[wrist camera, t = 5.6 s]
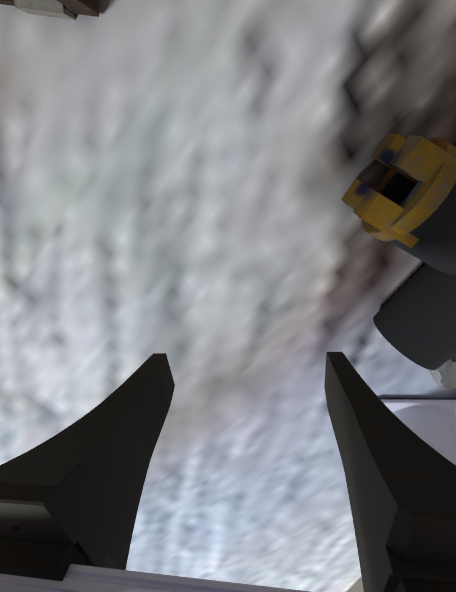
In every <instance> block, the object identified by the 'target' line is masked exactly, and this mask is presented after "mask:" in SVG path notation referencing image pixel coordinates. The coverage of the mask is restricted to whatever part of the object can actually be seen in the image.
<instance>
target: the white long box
mask: <svg viewBox="0 0 456 592" xmlns="http://www.w3.org/2000/svg"><path fill="white" fill-rule="evenodd" d="M428 371H429V372H430V374H431V375H432V377H433V379H434V380H435V382H436V383H437V385H438V386H439V387H444V388H456V355H455V356H453V357H452V358H451V359H450V360H448V361H447V362H446V363H444V364H443V365H442V366H441V367H439V368H438V369H436V370H429V369H428Z"/></svg>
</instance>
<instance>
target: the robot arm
mask: <svg viewBox="0 0 456 592" xmlns="http://www.w3.org/2000/svg"><path fill="white" fill-rule="evenodd" d="M174 387H175V384H174V381H173V377H172V374H171V370H170V366H169V363H168V359H167V356H166V353H162V354H153V355H152V356H150V357H149V358H148V359H147V360H146V361H145V362H144V363H143V364H142V365H141V366H140V367H139V368H138V369H137V370H136V371H135V372H134V373H133V374H132V375H131V376H130V377H129V378H128V379H127V380H126V381H125V382H124V383H123V384H122V385H121V386H120V387H119V388H117V389H116V390H115V391H114V392H113V393H112V394H111V395H110V396H108V397H107V398H106V399H105V400H104V401H103V402H101V403H100V404H99V405H98V406H97V407H95V408H94V409H93V410H91V411H90V412H89V413H87V414H86V415H85V416H83V417H82V418H81V419H79V420H78V421H76V422H75V423H73V424H72V425H70V426H69V427H67V428H66V429H64V430H63V431H61V432H60V433H58V434H57V435H55V436H54V437H52V438H50V439H49V440H47V441H45V442H44V443H42V444H40V445H38V446H37V447H35V448H33V449H31V450H29V451H28V452H26V453H24V454H22V455H20V456H18V457H16V458H14V459H12V460H10V461H8V462H6V463H4V464H2V465H0V592H309V591H300V590H292V589H283V588H274V587H266V586H257V585H248V584H240V583H231V582H223V581H214V580H205V579H197V578H188V577H179V576H171V575H162V574H153V573H145V572H136V571H127V570H125V569H126V564H127V559H128V554H129V548H130V543H131V538H132V533H133V529H134V524H135V519H136V515H137V510H138V506H139V502H140V498H141V494H142V489H143V485H144V482H145V478H146V474H147V470H148V467H149V463H150V460H151V457H152V454H153V451H154V448H155V445H156V443H157V440H158V437H159V435H160V432H161V429H162V427H163V424H164V421H165V419H166V416H167V413H168V410H169V407H170V404H171V400H172V396H173V391H174ZM325 393H326V400H327V406H328V411H329V415H330V419H331V422H332V426H333V430H334V433H335V437H336V440H337V444H338V448H339V451H340V455H341V459H342V463H343V467H344V471H345V476H346V482H347V488H348V493H349V499H350V505H351V511H352V517H353V523H354V529H355V535H356V541H357V548H358V554H359V561H360V568H361V574H362V581H363V588H364V592H456V400H384V399H379V398H378V397H377V395H376V394H375V393H374V392H373V391H372V390H371V389H370V387H369V386H368V385H367V384H366V383H365V381H364V380H363V379H362V378H361V377H360V375H359V374H358V373H357V371H356V370H355V369H354V367H353V366H352V365H351V363H350V362H349V361H348V359H347V358H346V356H345V355H344V354H343V353H342V352H327V355H326V371H325Z"/></svg>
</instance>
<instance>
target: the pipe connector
mask: <svg viewBox="0 0 456 592" xmlns="http://www.w3.org/2000/svg"><path fill="white" fill-rule="evenodd" d="M372 157H373V158H375V159H376V160H378V161H380V162H381V163H383V164H384V165H386V166H387V167H389V168H391V169H390V171H389V172H388V173H387V175H386V176H385V177H384V178H383V180H382V181H381V182H380V184H379V185H378V186H377V188H376V189H375V190H374V189H372V188H370V187H369V186H367V185H365V184H364V183H362V182H360V181H359V180H357V179H356V180H355V181H354V182H353V184H352V185H351V187H350V188H349V189H348V191H347V192H346V194H345V195H344V197H343V198H342V200H343V201H344V202H345V203H346V205H348V206H350V207H351V208H353V209H354V211H353V212H354V213H355V214H356V215H357V216H358V217H359V218H360V219H362V221H361V223H362V228H363V229H364V231H366V232H367V233H369V234H370V235H372V236H374V237H376V238H377V239H379V240H382V241H389V242H390V243H392V244H394V245H396V246H397V247H399V248H401V249H402V250H404V251H406V252H408V253H409V254H411V255H413V256H415V257H416V258H418V259H420V260H422V261H423V262H425V263H426V264H425V265H424V266H423V267H422V268H421V269H420V270H419V271H418V272H417V273H416V274H415V275H414V276H413V277H412V278H411V279H410V280H409V281H408V282H407V283H406V284H405V285H404V286H403V287H402V288H401V289H400V290H399V291H398V292H397V293H396V294H395V295H394V296H393V298H392V299H391V300H390V301H389V302H388V303H387V304H386V305H385V306H384V307H383V308H382V309H381V310H380V311H379V312H378V313H377V314H376V315H375V316H374V318H373V320H374V323H375V326H376V327H377V329H378V330H379V332H380V333H381V334H382V335H383V336H384V338H385V339H386V340H387V341H388V342H389V343H390V344H391V345H392V346H393V347H395V348H396V349H397V350H398V351H399V352H400V353H402V354H403V355H404V356H406V357H407V358H408V359H410V360H411V361H413V362H414V363H416V364H418V365H420V366H422V367H424V368H426V369H429V370H436V369H438V368H439V367H441V366H442V365H443V364H444V363H446V362H447V361H448V360H450V359H451V358H452V357H453V356H455V355H456V147H455V146H453V145H452V144H450V143H449V142H447V141H446V140H444V139H442V138H440V137H434V138H430V139H426V138H424V137H422V136H413V135H410V136H409V137H408V138H407V139H406V138H404V137H403V136H401V135H400V134H396V133H388V134H387V136H386V137H385V139H384V140H383V142H382V143H381V144H380V146H379V147H378V149H377V150H376V151H375V153H374V154H373V156H372Z"/></svg>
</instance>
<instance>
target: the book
mask: <svg viewBox="0 0 456 592" xmlns="http://www.w3.org/2000/svg"><path fill="white" fill-rule="evenodd" d="M0 4H5V5H12V6H15V7H16V8H18V9H20V10H23V11H25V12H27V13H29V14H37V15H44V16H52V17H60V18H67V19H75V14H82V15H89V16H97V17H99V10H98V0H0Z"/></svg>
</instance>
